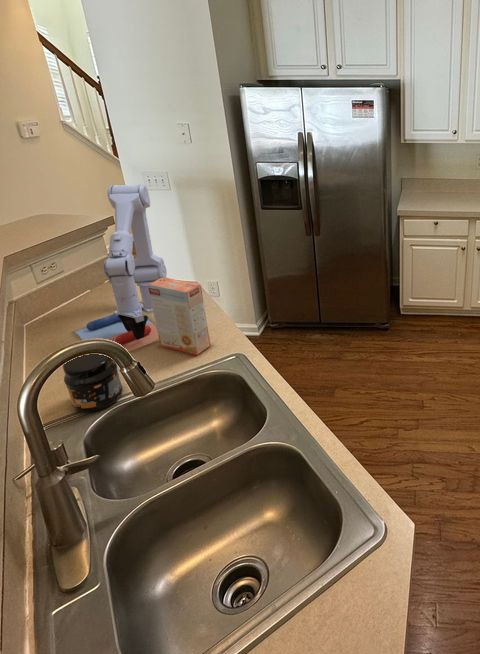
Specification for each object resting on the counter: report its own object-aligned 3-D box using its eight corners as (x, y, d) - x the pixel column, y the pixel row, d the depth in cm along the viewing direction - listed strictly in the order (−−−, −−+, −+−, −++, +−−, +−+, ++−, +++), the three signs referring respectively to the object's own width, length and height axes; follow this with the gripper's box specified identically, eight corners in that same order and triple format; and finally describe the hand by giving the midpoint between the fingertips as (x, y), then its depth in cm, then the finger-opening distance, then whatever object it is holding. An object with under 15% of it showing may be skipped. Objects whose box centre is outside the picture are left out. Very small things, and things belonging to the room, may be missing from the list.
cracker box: (212, 345, 130) (201, 283, 122) (197, 356, 125) (185, 292, 117) (175, 336, 134) (163, 275, 127) (159, 346, 129) (146, 283, 121)
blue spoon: (90, 334, 134) (88, 326, 132) (85, 328, 136) (83, 321, 135) (135, 318, 143) (134, 310, 142) (130, 313, 146) (128, 306, 145)
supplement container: (61, 410, 104) (48, 368, 99) (100, 382, 113) (88, 343, 109) (98, 418, 101) (85, 376, 97) (133, 389, 111) (123, 350, 107)
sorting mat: (137, 311, 148) (137, 310, 148) (169, 336, 134) (168, 335, 134) (75, 332, 135) (74, 331, 135) (103, 363, 121) (102, 361, 121)
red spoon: (148, 329, 137) (146, 322, 136) (154, 334, 134) (153, 327, 133) (101, 347, 127) (99, 339, 126) (107, 353, 125) (105, 344, 124)
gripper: (101, 291, 128) (112, 331, 133) (120, 307, 120) (130, 348, 125) (127, 284, 133) (136, 322, 138) (147, 298, 125) (156, 338, 130)
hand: (135, 334), depth 132 cm, fingers open, 6 cm apart
